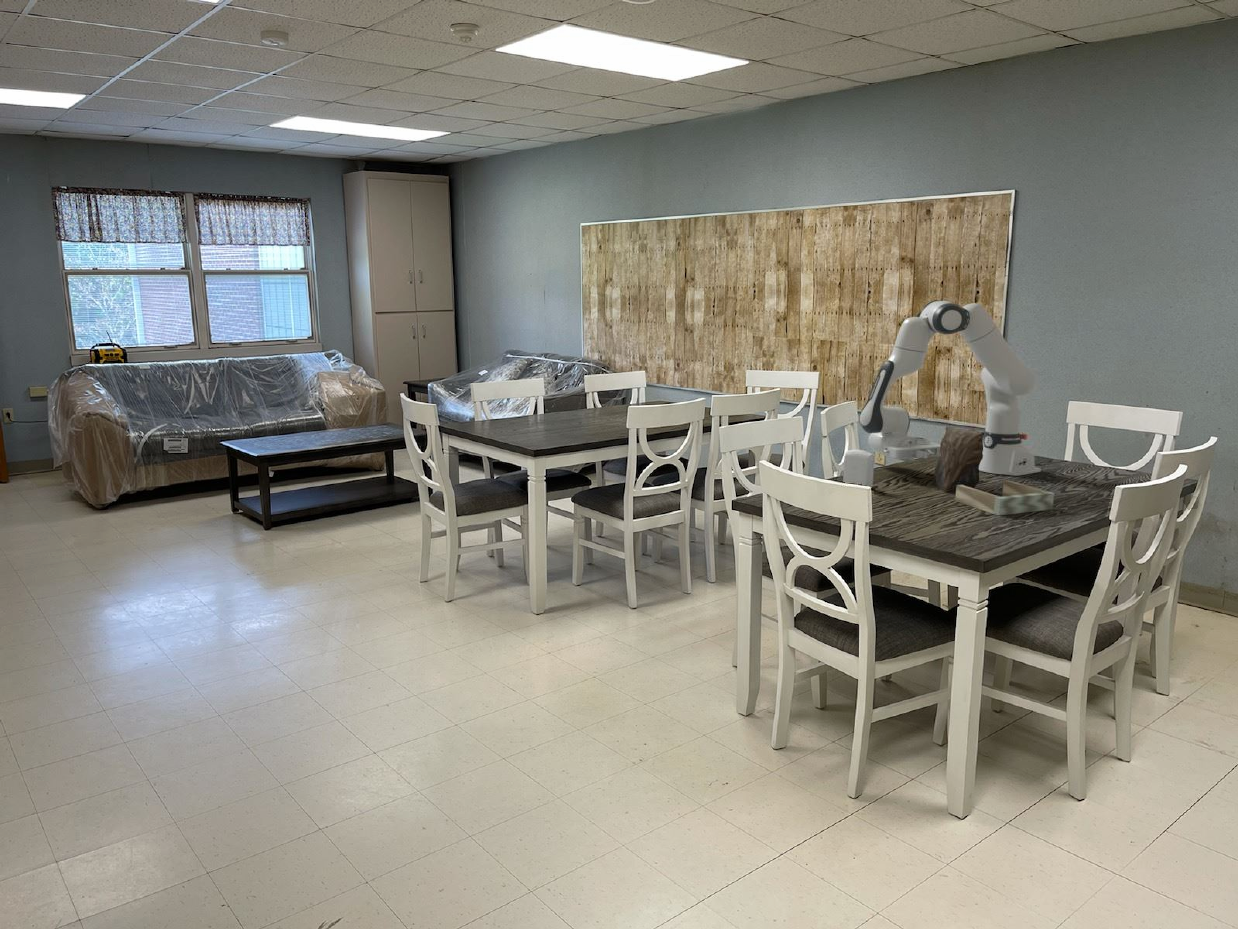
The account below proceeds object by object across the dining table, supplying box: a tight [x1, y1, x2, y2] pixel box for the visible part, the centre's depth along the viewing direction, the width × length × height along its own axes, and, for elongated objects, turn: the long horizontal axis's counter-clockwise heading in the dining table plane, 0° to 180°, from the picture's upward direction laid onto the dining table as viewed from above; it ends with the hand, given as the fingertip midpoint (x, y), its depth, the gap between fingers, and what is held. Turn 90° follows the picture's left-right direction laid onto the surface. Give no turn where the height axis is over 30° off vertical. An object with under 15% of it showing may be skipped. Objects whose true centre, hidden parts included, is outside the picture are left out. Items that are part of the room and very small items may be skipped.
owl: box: [934, 426, 984, 494], centre depth 293 cm, size 13×13×20 cm
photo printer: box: [842, 449, 875, 488], centre depth 295 cm, size 10×4×12 cm, turn 39°
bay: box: [954, 480, 1055, 516], centre depth 274 cm, size 21×18×5 cm
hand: (930, 455), depth 303 cm, fingers closed
